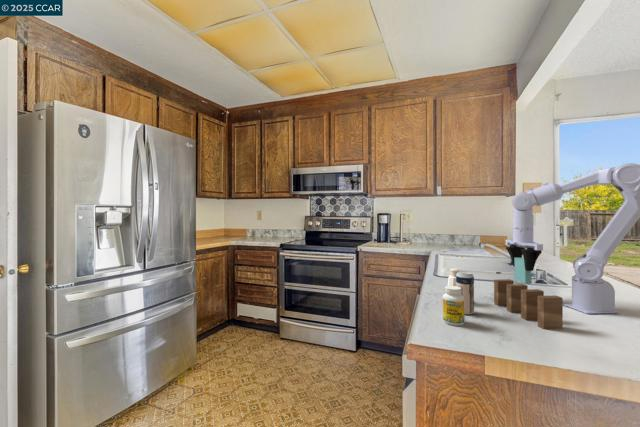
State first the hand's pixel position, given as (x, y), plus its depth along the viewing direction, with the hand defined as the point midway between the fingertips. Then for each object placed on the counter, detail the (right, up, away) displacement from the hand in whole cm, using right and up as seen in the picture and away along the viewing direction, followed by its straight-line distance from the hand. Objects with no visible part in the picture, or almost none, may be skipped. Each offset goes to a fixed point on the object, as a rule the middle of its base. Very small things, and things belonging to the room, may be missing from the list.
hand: (522, 268), depth 99 cm
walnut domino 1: (-10, -11, -5) cm, 15 cm away
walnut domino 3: (-9, -11, -17) cm, 22 cm away
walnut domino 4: (-9, -11, -23) cm, 27 cm away
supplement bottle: (-32, -11, -19) cm, 39 cm away
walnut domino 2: (-9, -11, -11) cm, 18 cm away
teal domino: (0, -5, 0) cm, 5 cm away
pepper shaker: (-24, -11, -1) cm, 26 cm away
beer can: (-25, -11, -12) cm, 30 cm away
